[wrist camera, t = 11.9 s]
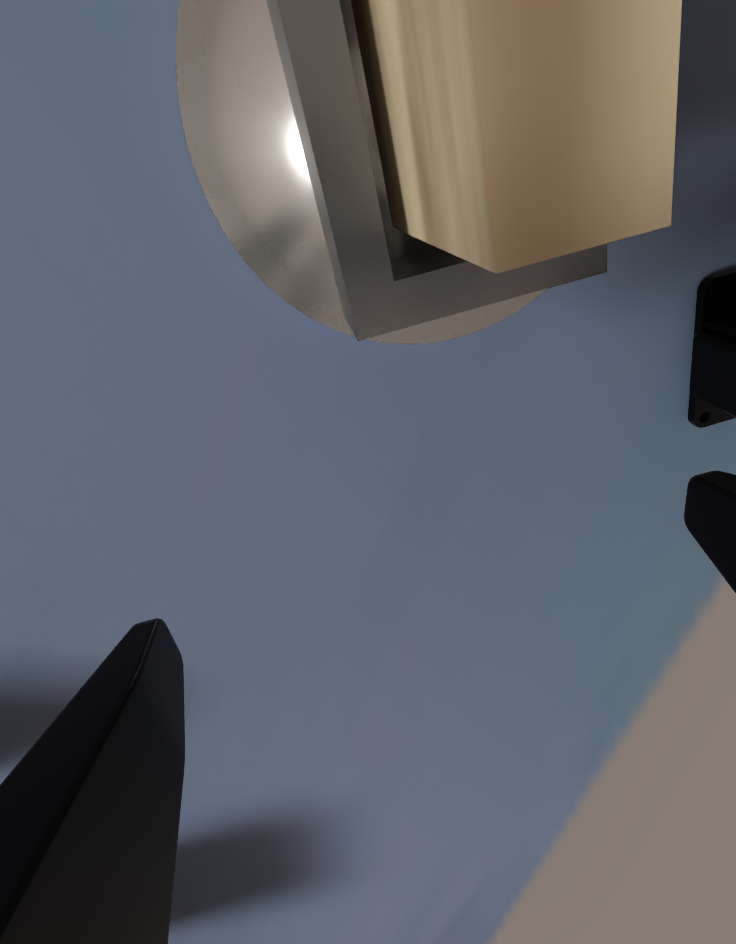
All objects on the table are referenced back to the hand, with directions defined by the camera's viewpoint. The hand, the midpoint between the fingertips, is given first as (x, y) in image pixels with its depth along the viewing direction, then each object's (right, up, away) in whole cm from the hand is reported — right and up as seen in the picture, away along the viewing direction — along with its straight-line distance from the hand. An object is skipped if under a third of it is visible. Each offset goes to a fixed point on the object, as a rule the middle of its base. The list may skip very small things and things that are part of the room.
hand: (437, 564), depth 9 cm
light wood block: (+1, +12, +8) cm, 15 cm away
